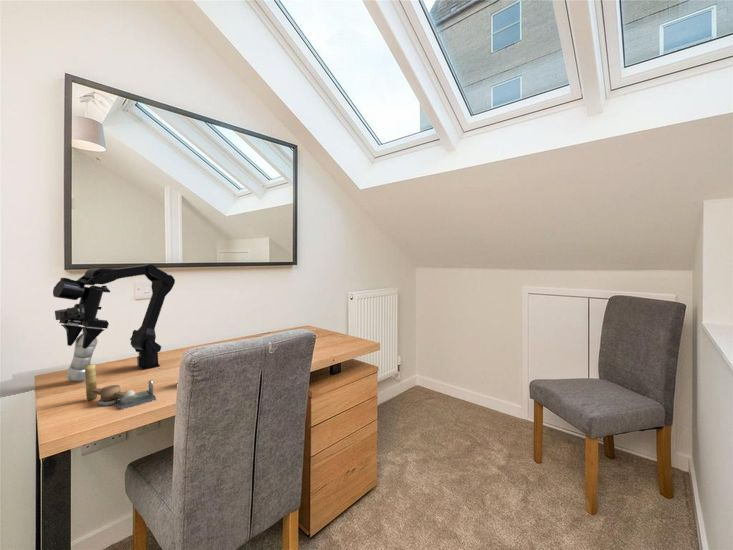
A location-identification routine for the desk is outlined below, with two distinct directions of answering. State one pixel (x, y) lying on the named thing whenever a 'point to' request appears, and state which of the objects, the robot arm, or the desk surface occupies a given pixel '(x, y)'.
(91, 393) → the tan piece
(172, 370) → the desk surface
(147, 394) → the level stand
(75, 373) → the plastic bottle
